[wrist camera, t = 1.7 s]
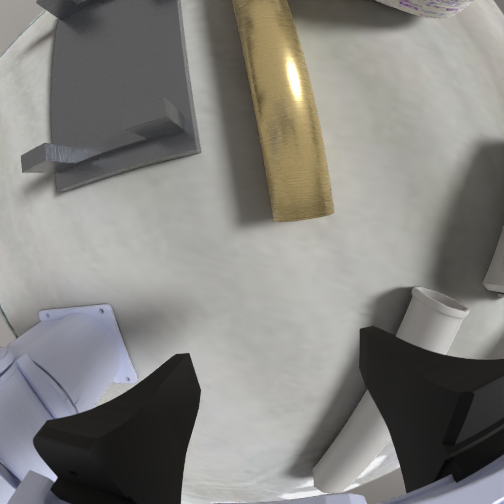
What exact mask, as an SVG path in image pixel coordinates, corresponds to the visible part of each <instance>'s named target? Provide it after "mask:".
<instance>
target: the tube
mask: <svg viewBox="0 0 504 504" xmlns="http://www.w3.org/2000/svg"><path fill="white" fill-rule="evenodd" d="M411 294H412V299H411V302H410V304H409V307H408V309H407V311H406V314H405V316H404V318H403V320H402V323H401V325H400V327H399V329H398V331H397V333H396V337H398V338H400V339H402V340H404V341H406V342H409V343H411V344H413V345H416V346H418V347H421V348H423V349H426V350H429V351H432V352H436V353H440V354H443V355H446V353H447V351H448V349H449V348H450V346H451V344H452V342H453V340H454V338H455V336H456V333H457V331H458V329H459V327H460V325H461V323H462V321H463V319H464V318H465V317H466V316H467V315H468V313H469V311H470V309H468V308H467V307H466V306H464V305H463V304H461V303H460V302H458V301H457V300H455V299H453V298H451V297H449V296H447V295H445V294H442V293H440V292H437V291H434V290H431V289H427V288H424V287H421V286H420V287H413V289H412V292H411ZM390 439H391V436H390V433H389V430H388V428H387V425H386V423H385V421H384V419H383V417H382V415H381V414H380V412H379V410H378V408H377V406H376V404H375V402H374V400H373V399H372V397H371V395H370V393H369V391H368V389H367V391H366V392H365V394H364V396H363V397H362V399H361V401H360V402H359V404H358V405H357V407H356V409H355V410H354V412H353V413H352V415H351V417H350V418H349V420H348V421H347V423H346V424H345V426H344V427H343V429H342V430H341V432H340V433H339V435H338V436H337V437H336V439H335V440H334V442H333V443H332V444H331V446H330V447H329V449H328V450H327V451H326V453H325V454H324V455H323V457H322V458H321V459H320V461H319V462H318V463H317V465H316V466H315V467H314V468H313V470H312V472H313V478H314V487H316V488H317V489H319V490H320V491H322V492H324V493H332V494H334V493H339V492H342V491H343V490H344V489H346V488H347V487H348V486H349V485H351V484H352V483H353V482H354V481H355V480H356V478H357V477H358V476H359V475H360V474H361V473H362V472H363V471H364V470H365V469H366V468H367V467H368V465H369V464H370V463H371V462H372V461H373V460H374V459H375V458H376V456H377V455H378V454H379V453H380V452H381V450H382V449H383V448H384V447H385V446H386V444H387V443H388V442H389V441H390Z"/></svg>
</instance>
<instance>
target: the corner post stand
mask: <svg viewBox="0 0 504 504" xmlns="http://www.w3.org/2000/svg"><path fill="white" fill-rule="evenodd" d="M36 3H37V4H39V5H40V6H41V7H43V8H44V9H46V10H47V11H49V12H50V13H51V14H53V15H54V16H56V17H57V18H58V22H57V29H56V36H55V44H54V53H53V65H52V81H51V131H52V144H48V143H44V144H42V145H40V146H38V147H36V148H34V149H32V150H31V151H29V152H27V153H25V154H23V155H22V156H21V163H22V173H55V179H56V187H57V191H68V190H71V189H74V188H77V187H79V186H82V185H85V184H88V183H91V182H94V181H97V180H100V179H103V178H107V177H110V176H113V175H116V174H120V173H123V172H126V171H130V170H133V169H137V168H140V167H144V166H148V165H151V164H155V163H159V162H163V161H167V160H171V159H175V158H179V157H184V156H188V155H192V154H197V153H201V148H200V142H199V135H198V129H197V123H196V116H195V110H194V103H193V96H192V89H191V82H190V75H189V68H188V60H187V53H186V45H185V37H184V28H183V20H182V11H181V2H180V0H37V2H36Z"/></svg>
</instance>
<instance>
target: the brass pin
mask: <svg viewBox="0 0 504 504" xmlns="http://www.w3.org/2000/svg"><path fill="white" fill-rule="evenodd" d="M232 3H233V8H234V12H235V17H236V21H237V26H238V31H239V35H240V40H241V45H242V50H243V55H244V59H245V64H246V69H247V74H248V79H249V84H250V90H251V95H252V100H253V105H254V110H255V116H256V121H257V126H258V132H259V137H260V143H261V148H262V154H263V160H264V165H265V171H266V177H267V183H268V189H269V195H270V201H271V207H272V213H273V219H274V221H276V222H286V221H298V220H306V219H312V218H318V217H323V216H327V215H331V214H333V213H334V205H333V198H332V191H331V185H330V178H329V172H328V166H327V160H326V155H325V149H324V144H323V138H322V133H321V128H320V123H319V118H318V114H317V109H316V104H315V100H314V95H313V91H312V87H311V83H310V79H309V75H308V71H307V67H306V63H305V59H304V55H303V52H302V48H301V44H300V41H299V37H298V34H297V31H296V27H295V24H294V21H293V17H292V14H291V11H290V8H289V5H288V2H287V0H232Z"/></svg>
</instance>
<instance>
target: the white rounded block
mask: <svg viewBox="0 0 504 504" xmlns="http://www.w3.org/2000/svg"><path fill="white" fill-rule="evenodd" d="M482 284H483V285H484V286H485V287H486V288H487V290H490V291H496V292H498V293H497V296H500V297H504V226H503V229H502V233H501V236H500V239H499V242H498V245H497V247H496V250H495V253H494V256H493V258H492V261H491V264H490V266H489V269H488V271H487V274H486V276H485V278H484V281H483V283H482Z"/></svg>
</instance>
